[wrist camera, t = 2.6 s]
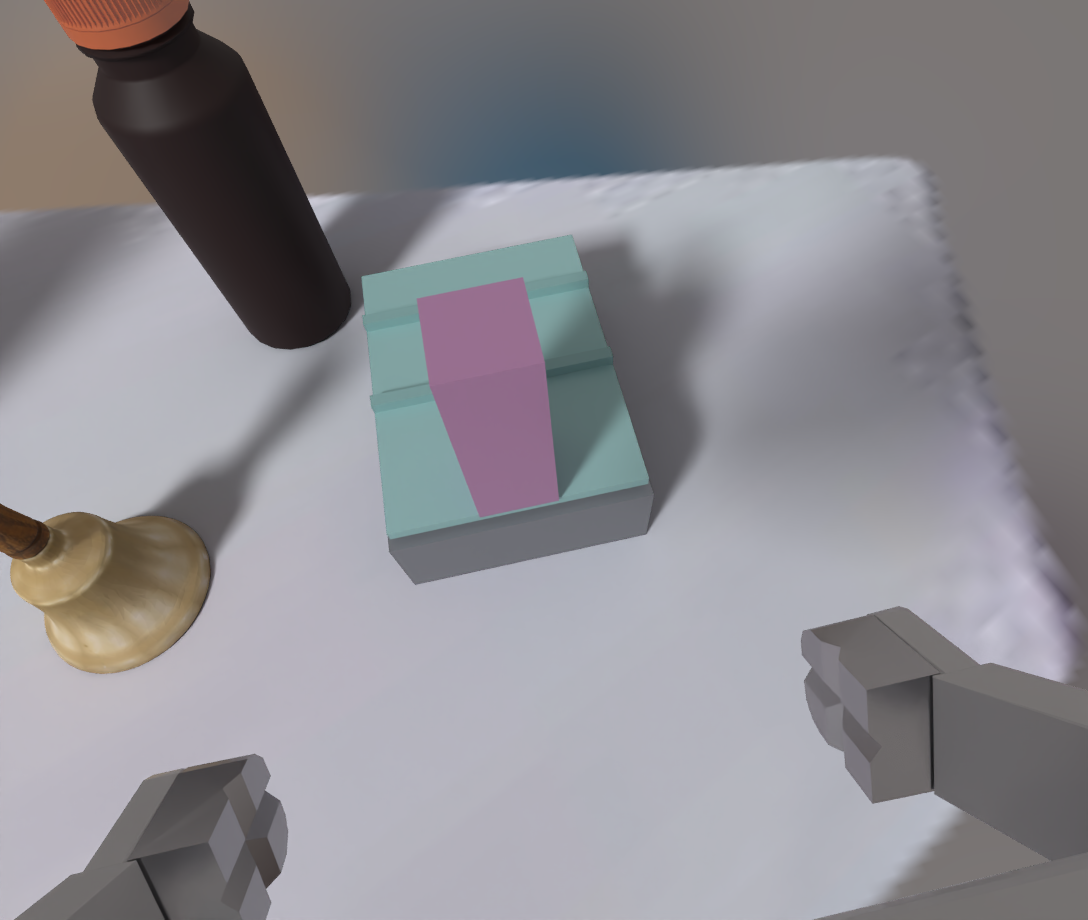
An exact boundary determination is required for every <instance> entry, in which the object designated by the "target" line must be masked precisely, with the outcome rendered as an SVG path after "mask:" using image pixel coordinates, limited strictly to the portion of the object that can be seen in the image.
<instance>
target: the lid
mask: <svg viewBox="0 0 1088 920" xmlns="http://www.w3.org/2000/svg"><path fill="white" fill-rule="evenodd" d="M361 278H362V288H363V298H364V308H365V315H362V317H363V325H364V327H365V329H366V331H367V339H368V349H369V359H370V369H371V379H372V390H373V395H372V396H370V400H371V407H372V409H373V411H374V413H375V420H376V430H377V441H378V451H379V461H380V471H381V481H382V491H383V502H384V512H385V522H386V532H387V535H388V537H389V538H390V539H395V538H399V537H404V536H409V535H413V534H418V533H423V532H427V531H432V530H437V529H441V528H446V527H451V526H455V525H460V524H464V523H469V522H474V521H478V520H483V519H488V518H492V517H497V516H502V515H506V514H511V513H516V512H520V511H525V510H529V509H534V508H539V507H543V506H548V505H553V504H557V503H562V502H567V501H571V500H576V499H581V498H585V497H590V496H595V495H599V494H604V493H608V492H613V491H618V490H622V489H627V488H632V487H636V486H641V485H646V484H648V481H649V476H648V473H647V470H646V467H645V464H644V461H643V457H642V454H641V451H640V448H639V445H638V442H637V439H636V435H635V432H634V429H633V426H632V423H631V420H630V416H629V413H628V410H627V407H626V404H625V401H624V398H623V394H622V391H621V388H620V385H619V382H618V379H617V375H616V372H615V369H614V366H613V354H612V351H611V348H610V347H607V344H606V341H605V338H604V334H603V331H602V328H601V325H600V322H599V319H598V316H597V312H596V309H595V306H594V303H593V300H592V297H591V293H590V290H589V279H588V276H587V273H586V271H583V268H582V265H581V262H580V259H579V256H578V253H577V249H576V246H575V243H574V240H573V237H572V235H567V236H562V237H557V238H552V239H547V240H542V241H537V242H532V243H527V244H522V245H517V246H512V247H507V248H502V249H497V250H492V251H487V252H482V253H477V254H472V255H467V256H462V257H457V258H452V259H447V260H442V261H437V262H432V263H426V264H421V265H416V266H411V267H406V268H401V269H396V270H391V271H386V272H381V273H376V274H371V275H366V276H361Z"/></svg>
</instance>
